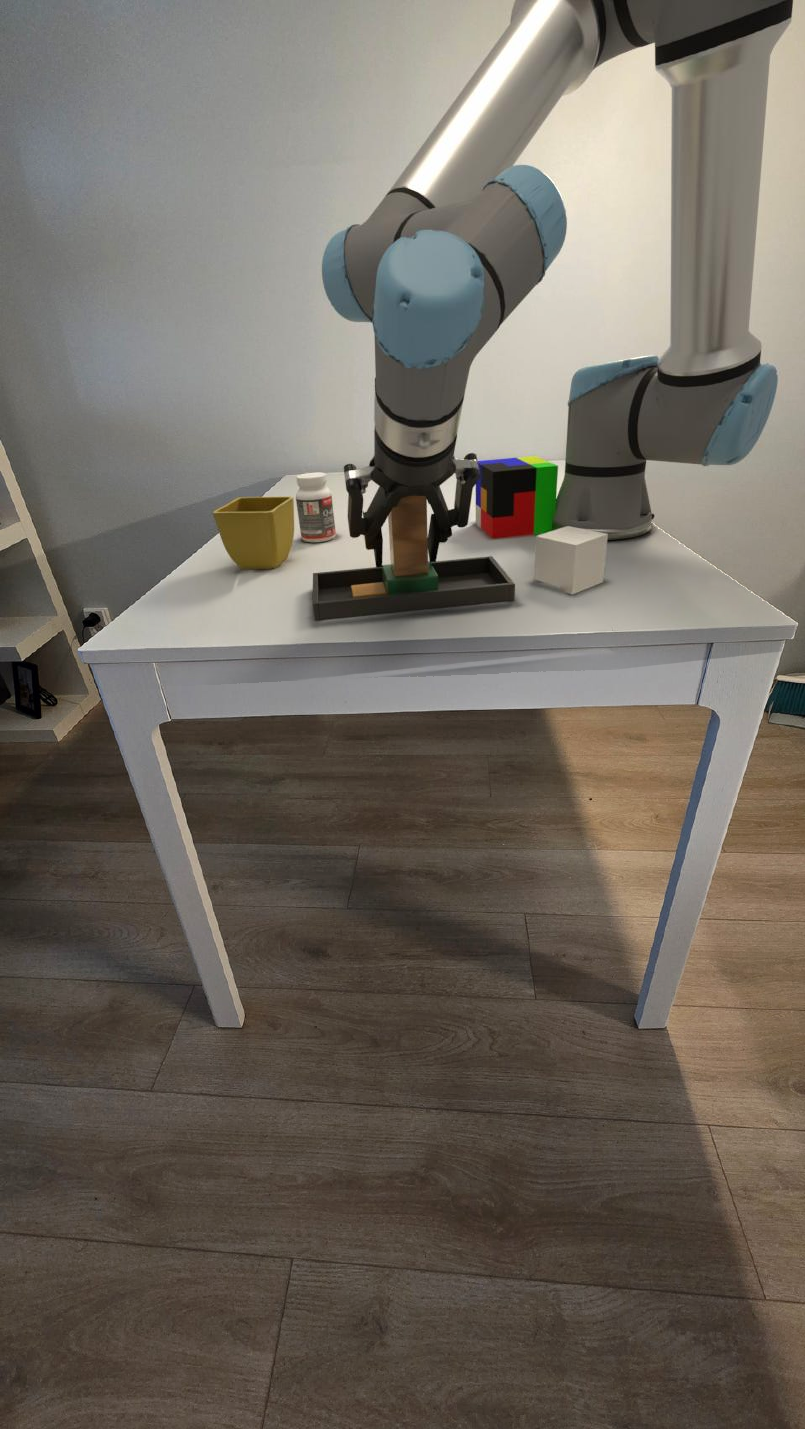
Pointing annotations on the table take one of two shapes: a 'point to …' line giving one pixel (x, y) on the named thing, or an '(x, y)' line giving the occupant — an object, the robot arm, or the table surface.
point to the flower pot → (257, 530)
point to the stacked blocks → (409, 549)
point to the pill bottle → (315, 508)
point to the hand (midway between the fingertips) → (404, 554)
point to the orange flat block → (368, 590)
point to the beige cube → (570, 558)
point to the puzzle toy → (516, 496)
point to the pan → (455, 588)
